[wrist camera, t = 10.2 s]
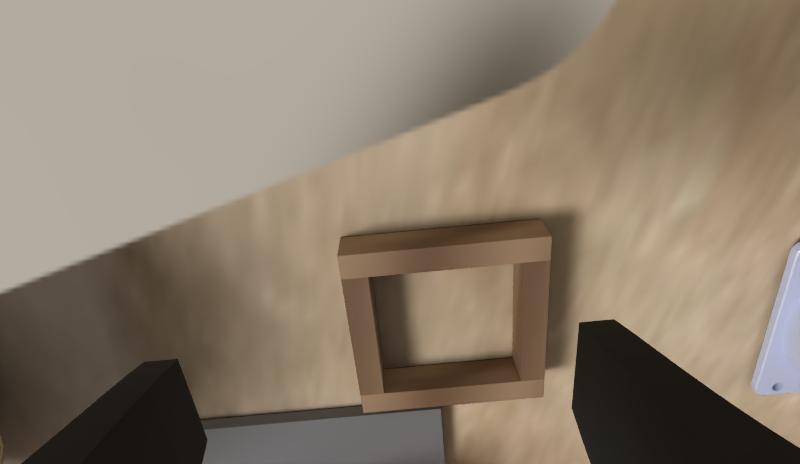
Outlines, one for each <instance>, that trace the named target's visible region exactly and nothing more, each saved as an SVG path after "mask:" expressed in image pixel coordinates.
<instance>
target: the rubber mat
mask: <svg viewBox="0 0 800 464" xmlns="http://www.w3.org/2000/svg"><path fill="white" fill-rule="evenodd" d="M200 421H201V423H202V426H203V429H204V432H205V434H206V437H207V440H208V441H207V445H206V449H205V454H204V458H203V462H202V464H445V460H444V446H443V432H442V418H441V406H436V407H424V408H413V409H402V410H391V411H379V412H368V413H363V407H362V406H355V407H344V408H333V409H322V410H310V411H299V412H288V413H277V414H266V415H254V416H243V417H232V418H221V419H210V420H200Z"/></svg>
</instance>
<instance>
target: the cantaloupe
mask: <svg viewBox="0 0 800 464" xmlns="http://www.w3.org/2000/svg"><path fill="white" fill-rule="evenodd" d="M0 464H3V443H2V439H1V436H0Z"/></svg>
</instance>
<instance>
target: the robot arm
mask: <svg viewBox="0 0 800 464" xmlns="http://www.w3.org/2000/svg"><path fill="white" fill-rule="evenodd" d="M751 387H752V389H753V390H754V391H755V392H756V393H757V394H759V395H771V394H782V393H794V392H800V242H798V243H797V244H795V245H794V246H793V247H792V249H791V251H790V254H789V257H788V261H787V264H786V267H785V271H784V274H783V277H782V281H781V284H780V288H779V291H778V294H777V298H776V301H775V304H774V308H773V311H772V314H771V318H770V321H769V324H768V328H767V331H766V334H765V338H764V341H763V344H762V348H761V351H760V355H759V358H758V361H757V365H756V368H755V371H754V375H753V378H752V381H751ZM572 410H573V413H574V416H575V419H576V422H577V425H578V428H579V431H580V434H581V437H582V440H583V443H584V446H585V449H586V452H587V454H588V457H589V460H590V463H591V464H800V448H798V447H797V446H795V445H794V444H792V443H791V442H789V441H787V440H786V439H784V438H783V437H781V436H780V435H778V434H776V433H775V432H773V431H772V430H770V429H769V428H767V427H765V426H764V425H762V424H761V423H759V422H758V421H756V420H755V419H753V418H752V417H750V416H749V415H747V414H746V413H744V412H743V411H741V410H740V409H738V408H737V407H735V406H734V405H733V404H731V403H730V402H728V401H727V400H725V399H724V398H722V397H721V396H719V395H718V394H717V393H715V392H714V391H712V390H711V389H710V388H708V387H707V386H705V385H704V384H702V383H701V382H700V381H698V380H697V379H695V378H694V377H693V376H691V375H690V374H688V373H687V372H686V371H684V370H683V369H682V368H680V367H679V366H677V365H676V364H675V363H673V362H672V361H671V360H669V359H668V358H666V357H665V356H664V355H662V354H661V353H660V352H658V351H657V350H656V349H654V348H653V347H652V346H650V345H649V344H647V343H646V342H645V341H643V340H642V339H641V338H639V337H638V336H637V335H635V334H634V333H632V332H631V331H630V330H628V329H627V328H626V327H624V326H623V325H621V324H620V323H618V322H617V321H615V320H614V319H613V320H602V321H591V322H580V323H579V333H578V344H577V355H576V367H575V378H574V389H573V400H572ZM207 441H208V440H207V437H206V434H205V432H204V429H203V426H202V423H201V421H200V418H199V415H198V413H197V410H196V407H195V405H194V402H193V399H192V396H191V394H190V391H189V388H188V386H187V383H186V380H185V378H184V375H183V372H182V369H181V367H180V364H179V361H178V359H173V360H162V361H151V362H144V363H142V364H141V365H140V366H138V367H137V368H136V369H134V370H133V371H132V372H131V373H129V374H128V375H127V376H125V377H124V378H123V379H122V380H121V381H119V382H118V383H117V384H116V385H115V386H113V387H112V388H111V389H110V390H109V391H107V392H106V393H105V394H104V395H103V396H101V397H100V398H99V399H98V400H97V401H96V402H94V403H93V404H92V405H91V406H90V407H88V408H87V409H86V410H85V411H84V412H83V413H81V414H80V415H79V416H78V417H77V418H75V419H74V420H73V421H72V422H71V423H70V424H68V425H67V426H66V427H65V428H64V429H62V430H61V431H60V432H59V433H58V434H56V435H55V436H54V437H53V438H52V439H50V440H49V441H48V442H47V443H46V444H44V445H43V446H42V447H41V448H40V449H39V450H37V451H36V452H35V453H34V454H33V455H31V456H30V457H29V458H28V459H27V460H25V461H24V462H23V463H22V464H202V462H203V458H204V454H205V449H206V445H207Z"/></svg>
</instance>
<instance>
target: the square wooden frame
mask: <svg viewBox="0 0 800 464" xmlns="http://www.w3.org/2000/svg"><path fill="white" fill-rule="evenodd" d="M551 245H552V236H551V234H550V233H549V231H548V230H547V228H546V227H545V225H544V224H543V222H542V221H541V219H534V220H523V221H512V222H502V223H491V224H480V225H469V226H459V227H448V228H437V229H427V230H416V231H405V232H395V233H384V234H373V235H363V236H352V237H341V238H340V244H339V250H338V256H337V257H338V263H339V269H340V275H341V281H342V287H343V293H344V299H345V305H346V311H347V317H348V323H349V329H350V335H351V341H352V347H353V353H354V359H355V365H356V371H357V377H358V383H359V389H360V395H361V401H362V407H363V413H368V412H379V411H391V410H402V409H413V408H424V407H436V406H447V405H458V404H469V403H481V402H492V401H503V400H514V399H525V398H537V397H543V395H544V376H545V357H546V339H547V320H548V301H549V282H550V264H551ZM505 264H514V284H513V350H512V358H503V359H491V360H480V361H469V362H458V363H447V364H436V365H425V366H414V367H403V368H391V369H384V365H383V358H382V350H381V343H380V335H379V328H378V320H377V313H376V306H375V298H374V291H373V283H372V277H375V276H386V275H397V274H407V273H418V272H429V271H440V270H451V269H462V268H472V267H483V266H494V265H505Z"/></svg>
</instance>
